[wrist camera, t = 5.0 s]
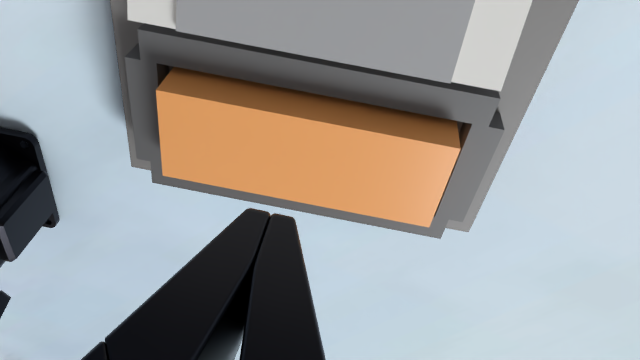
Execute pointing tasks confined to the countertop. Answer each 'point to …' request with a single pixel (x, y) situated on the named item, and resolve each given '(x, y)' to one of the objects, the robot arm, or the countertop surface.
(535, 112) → the countertop surface
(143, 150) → the panel
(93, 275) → the countertop surface
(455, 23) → the rocker switch
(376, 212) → the push button
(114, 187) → the countertop surface
